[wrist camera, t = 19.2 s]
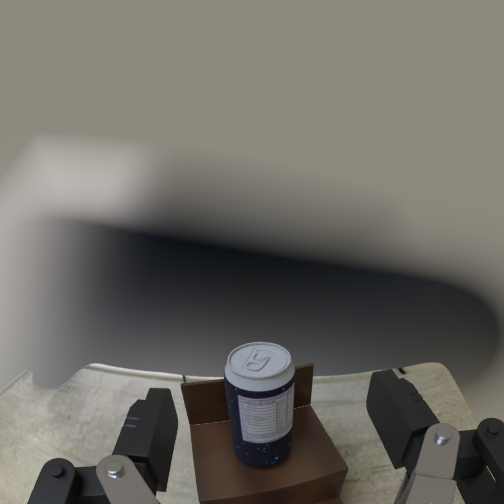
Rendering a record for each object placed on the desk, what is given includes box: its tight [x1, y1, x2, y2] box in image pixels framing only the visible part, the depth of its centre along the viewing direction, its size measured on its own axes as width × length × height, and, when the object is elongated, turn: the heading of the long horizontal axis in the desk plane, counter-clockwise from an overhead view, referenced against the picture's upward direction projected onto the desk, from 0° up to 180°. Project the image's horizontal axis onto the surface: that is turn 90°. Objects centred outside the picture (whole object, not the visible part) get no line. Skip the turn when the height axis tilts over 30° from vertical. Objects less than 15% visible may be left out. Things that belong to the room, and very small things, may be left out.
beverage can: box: [224, 342, 296, 467], centre depth 24 cm, size 6×6×12 cm
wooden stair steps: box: [181, 363, 348, 504], centre depth 23 cm, size 14×19×16 cm
